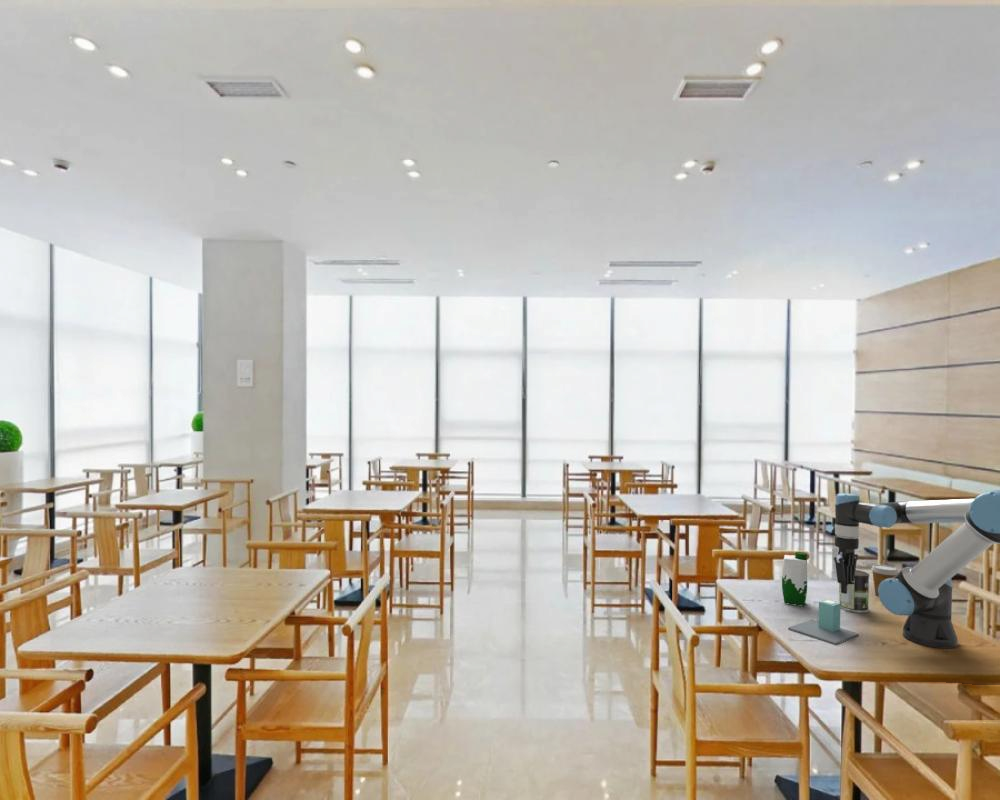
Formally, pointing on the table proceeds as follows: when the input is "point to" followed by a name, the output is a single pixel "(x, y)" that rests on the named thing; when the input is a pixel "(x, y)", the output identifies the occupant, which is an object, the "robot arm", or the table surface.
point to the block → (829, 615)
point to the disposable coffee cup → (882, 574)
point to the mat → (822, 632)
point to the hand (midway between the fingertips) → (845, 601)
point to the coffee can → (857, 593)
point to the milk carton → (794, 578)
